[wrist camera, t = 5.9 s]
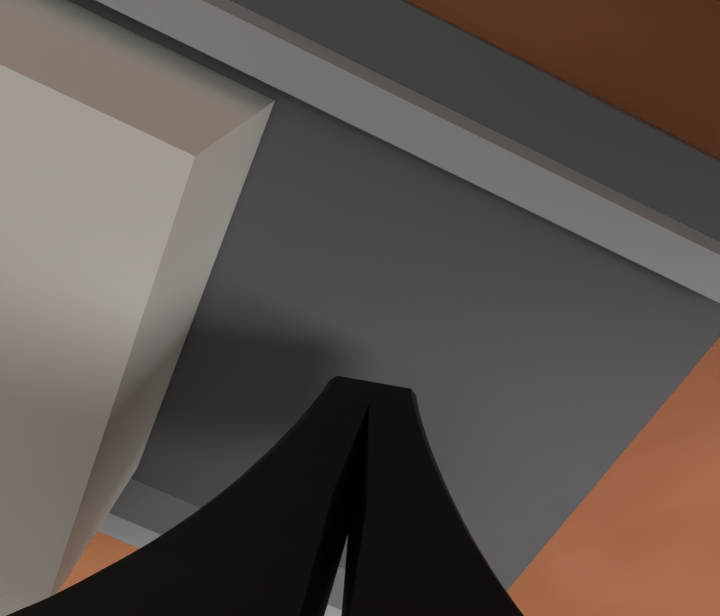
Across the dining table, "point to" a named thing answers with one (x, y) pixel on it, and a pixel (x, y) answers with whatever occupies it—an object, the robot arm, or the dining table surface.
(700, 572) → the dining table surface
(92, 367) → the sliding block
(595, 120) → the base
